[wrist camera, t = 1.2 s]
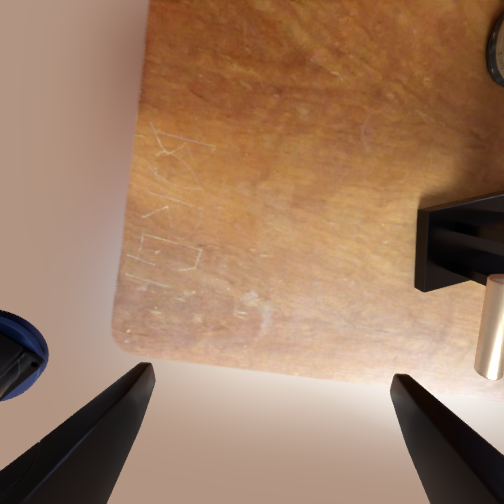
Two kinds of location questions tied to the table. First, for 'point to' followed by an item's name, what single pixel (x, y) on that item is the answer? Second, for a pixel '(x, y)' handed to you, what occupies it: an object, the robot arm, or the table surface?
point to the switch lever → (491, 331)
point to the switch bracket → (460, 242)
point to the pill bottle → (497, 52)
